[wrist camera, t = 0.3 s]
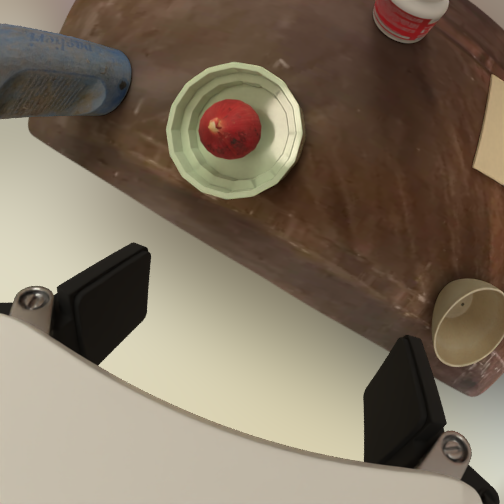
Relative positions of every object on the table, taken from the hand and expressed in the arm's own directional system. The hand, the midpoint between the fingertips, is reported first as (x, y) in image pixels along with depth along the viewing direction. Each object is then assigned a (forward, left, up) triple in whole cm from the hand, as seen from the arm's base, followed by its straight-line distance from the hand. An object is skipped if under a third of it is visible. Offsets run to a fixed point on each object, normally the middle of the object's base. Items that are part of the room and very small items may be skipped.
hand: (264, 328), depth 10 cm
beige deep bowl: (+5, +21, -23) cm, 32 cm away
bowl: (-5, -9, -23) cm, 25 cm away
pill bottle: (-23, +4, -23) cm, 33 cm away
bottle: (-9, -30, -23) cm, 39 cm away
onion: (-5, -9, -22) cm, 25 cm away
